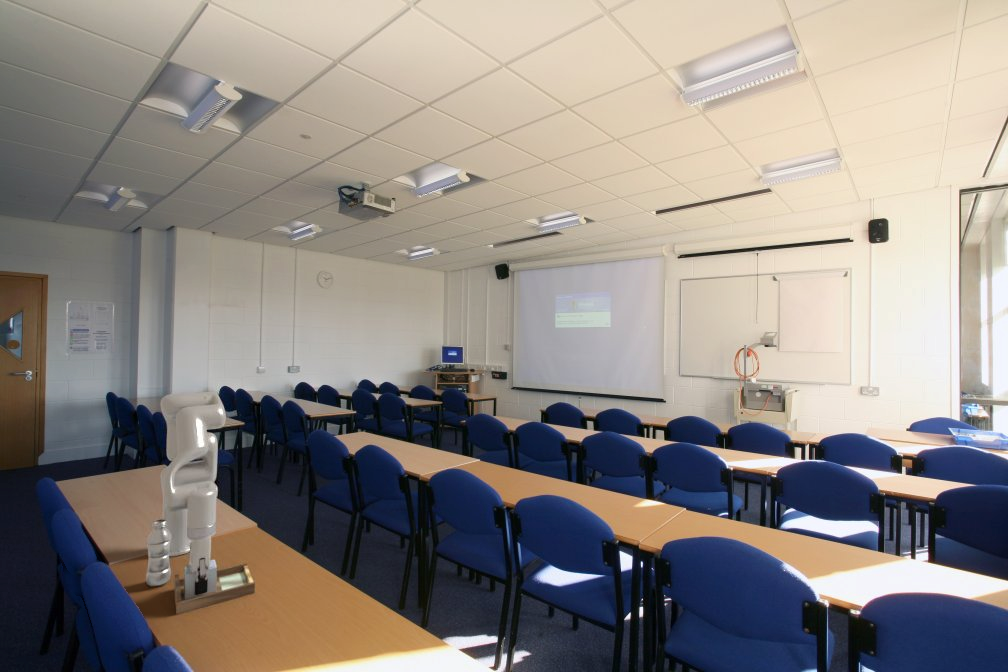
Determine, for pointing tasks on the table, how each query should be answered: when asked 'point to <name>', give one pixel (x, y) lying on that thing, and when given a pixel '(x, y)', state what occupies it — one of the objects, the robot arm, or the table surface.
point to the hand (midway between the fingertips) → (200, 587)
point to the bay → (217, 589)
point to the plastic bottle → (158, 554)
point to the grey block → (191, 578)
